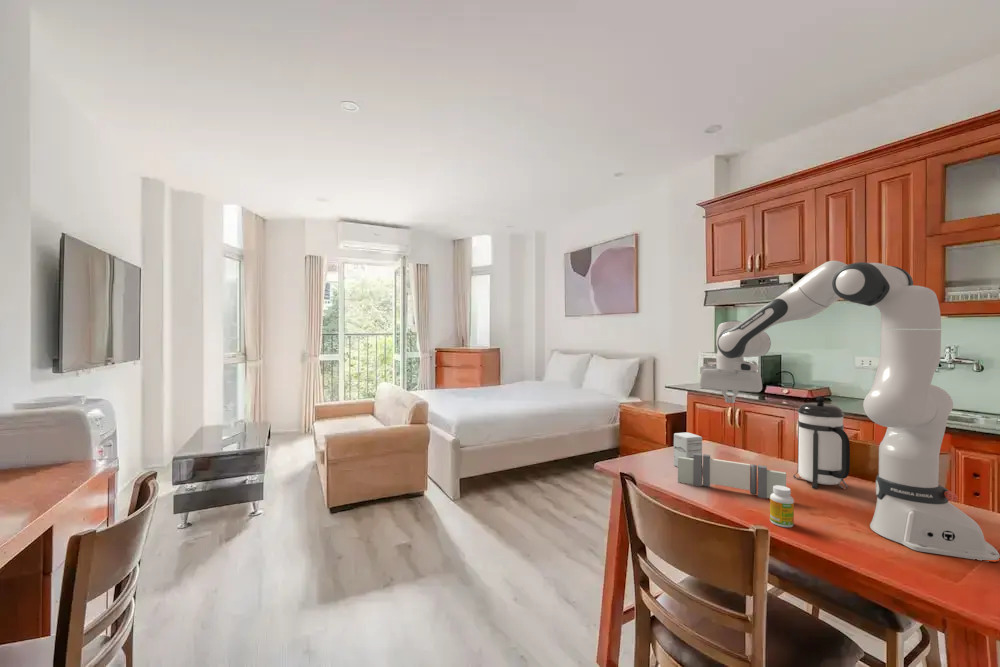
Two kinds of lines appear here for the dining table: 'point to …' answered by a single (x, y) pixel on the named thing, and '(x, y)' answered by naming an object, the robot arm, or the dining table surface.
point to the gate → (729, 474)
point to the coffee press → (822, 444)
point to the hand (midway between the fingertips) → (730, 402)
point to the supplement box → (686, 445)
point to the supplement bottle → (781, 506)
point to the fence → (693, 475)
